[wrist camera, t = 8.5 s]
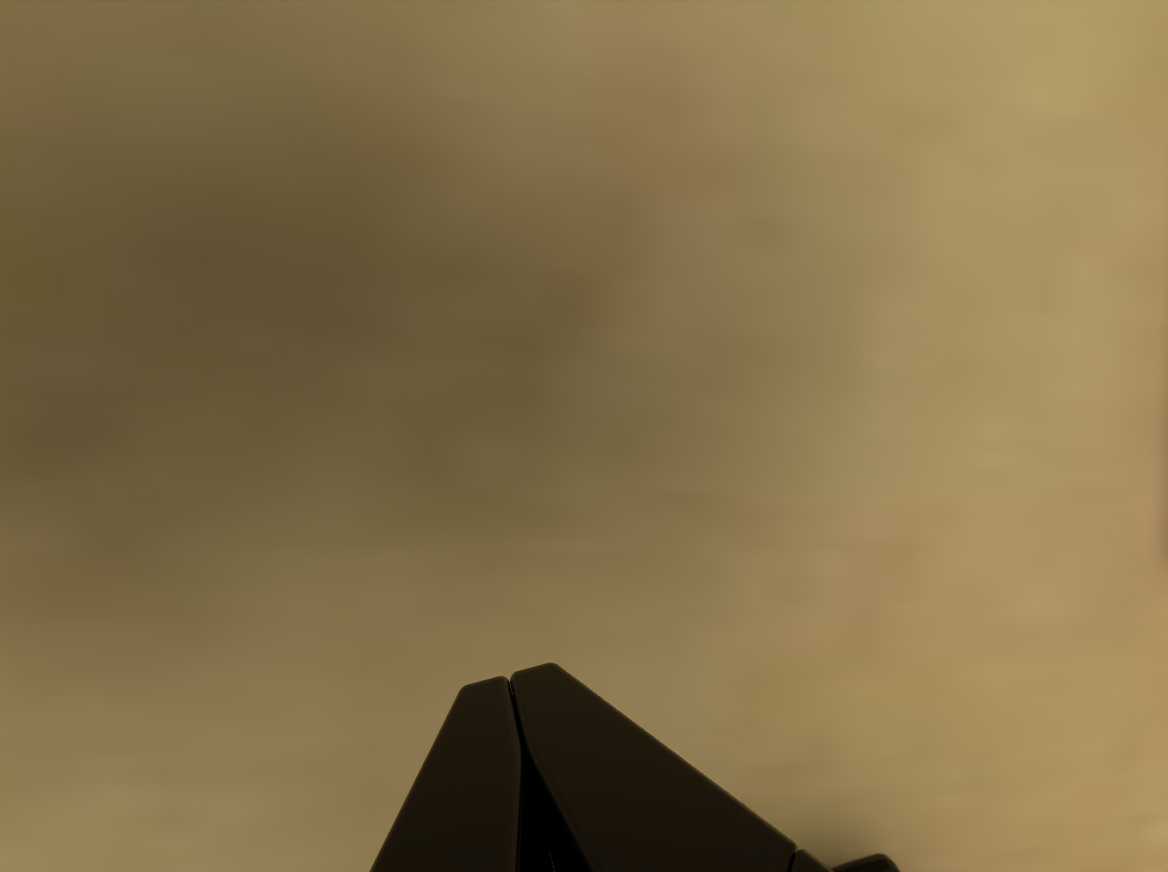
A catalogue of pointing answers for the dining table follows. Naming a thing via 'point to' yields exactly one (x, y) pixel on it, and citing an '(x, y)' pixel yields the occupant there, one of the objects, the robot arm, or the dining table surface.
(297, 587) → the dining table surface
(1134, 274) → the dining table surface
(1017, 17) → the dining table surface
